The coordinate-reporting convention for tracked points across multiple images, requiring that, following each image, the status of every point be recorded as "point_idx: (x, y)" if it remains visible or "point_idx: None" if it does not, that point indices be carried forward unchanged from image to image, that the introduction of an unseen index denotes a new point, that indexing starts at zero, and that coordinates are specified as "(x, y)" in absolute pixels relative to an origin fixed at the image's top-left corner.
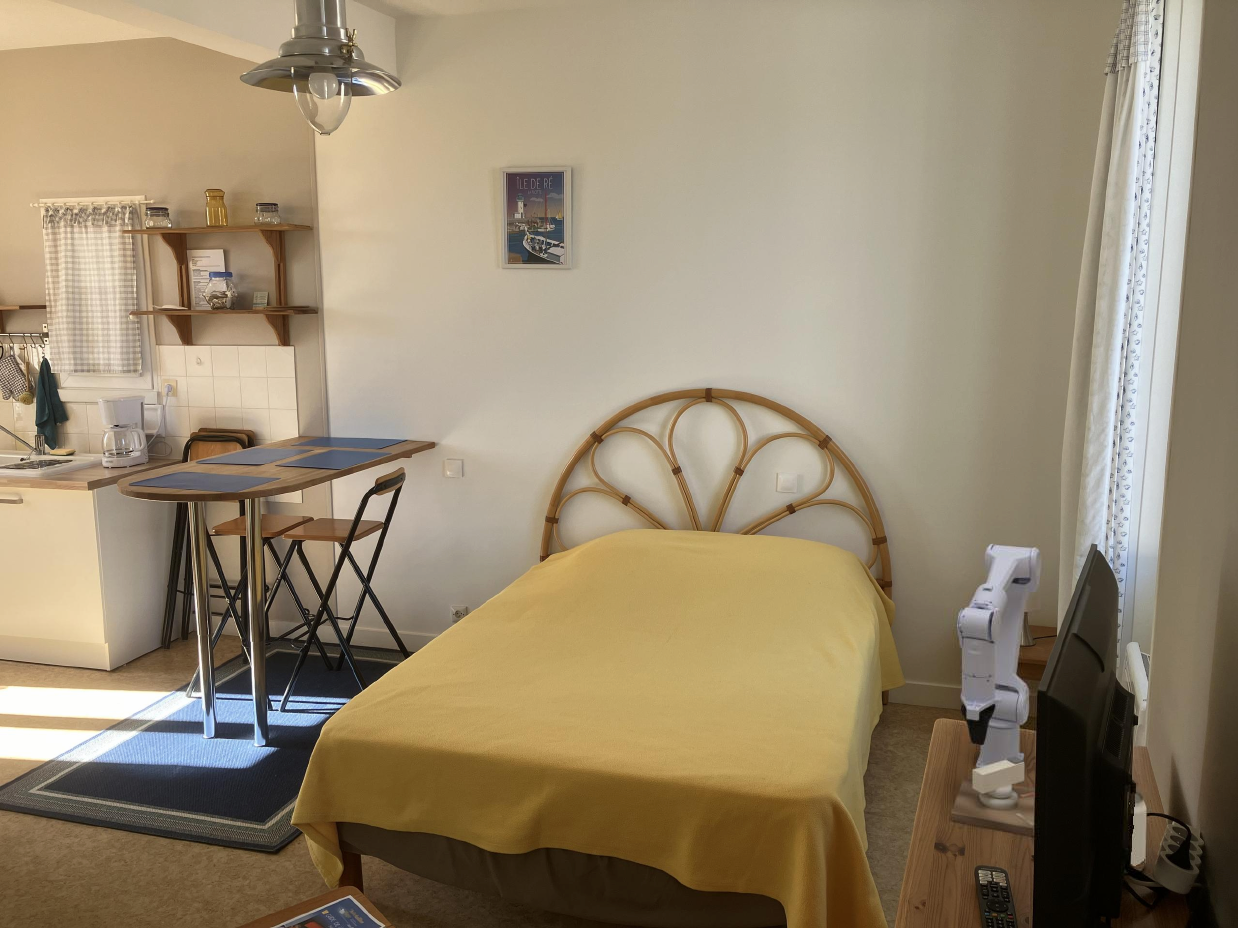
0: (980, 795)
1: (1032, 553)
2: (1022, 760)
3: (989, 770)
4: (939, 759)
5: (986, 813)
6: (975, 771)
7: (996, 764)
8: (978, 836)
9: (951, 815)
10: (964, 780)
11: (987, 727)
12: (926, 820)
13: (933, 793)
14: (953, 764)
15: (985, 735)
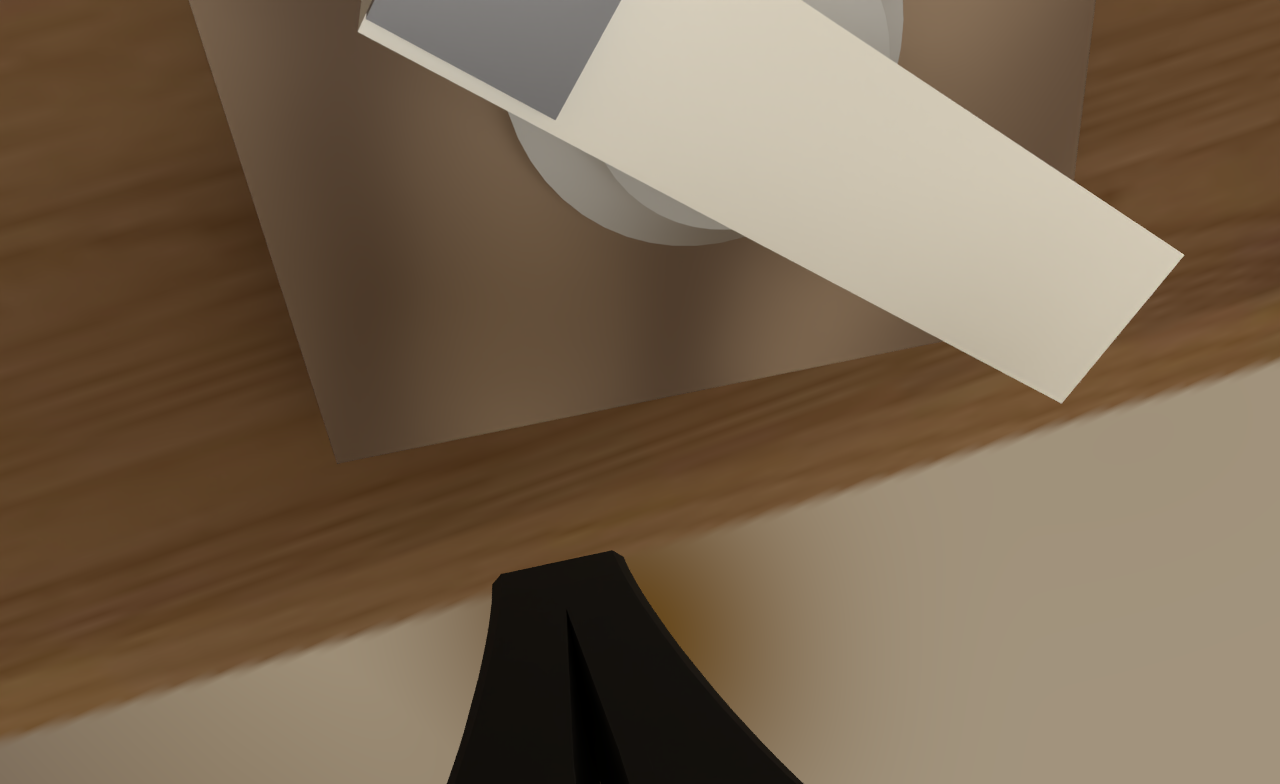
0: None
1: None
2: None
3: (1020, 223)
4: (2, 728)
5: (972, 63)
6: (1097, 358)
7: (791, 201)
8: (1206, 27)
9: None
10: (408, 437)
11: (570, 772)
12: (1063, 421)
13: (642, 535)
14: (5, 622)
15: (676, 652)
